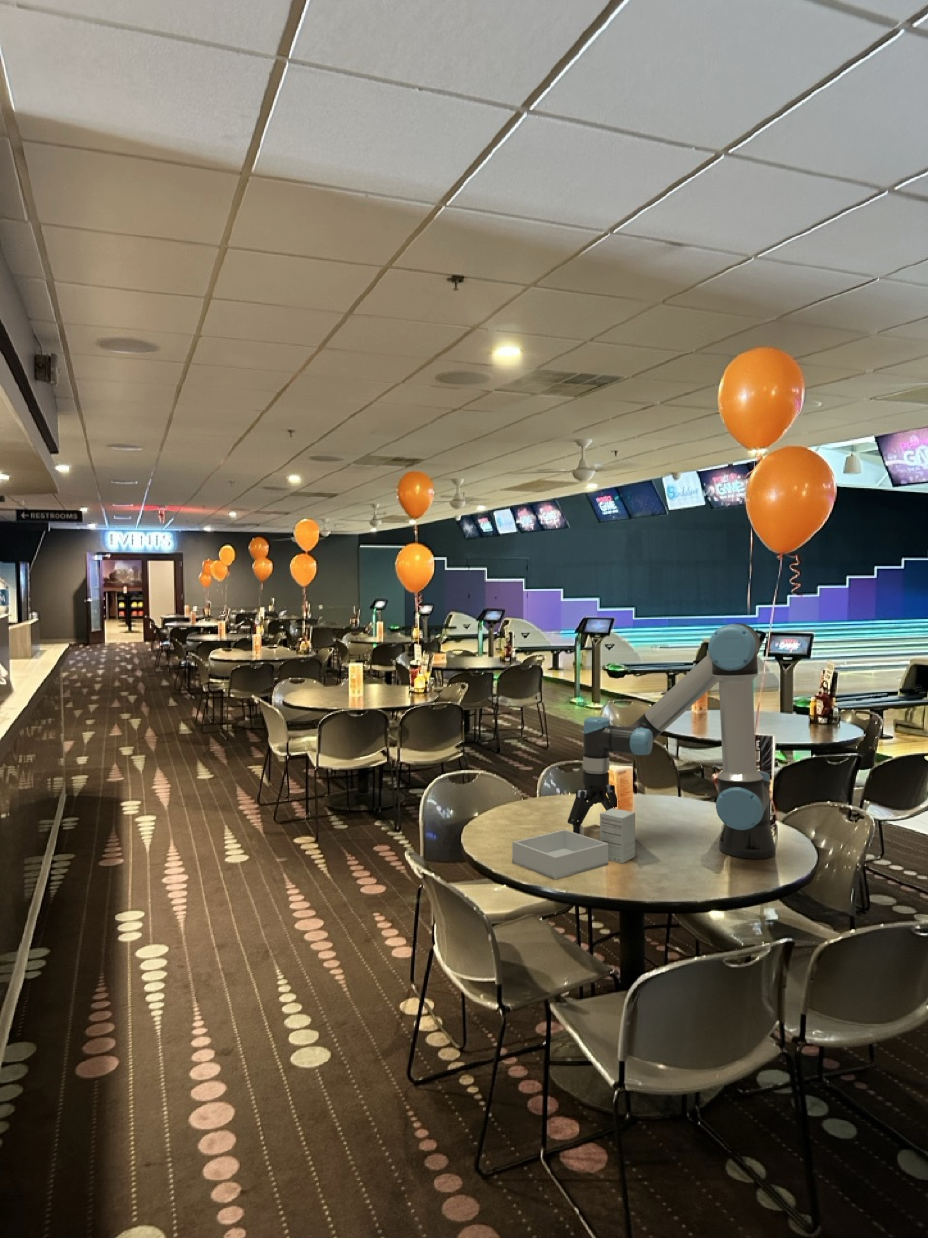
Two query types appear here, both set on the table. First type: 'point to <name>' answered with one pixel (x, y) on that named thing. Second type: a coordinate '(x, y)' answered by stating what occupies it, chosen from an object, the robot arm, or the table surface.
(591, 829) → the maple block
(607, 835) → the supplement box
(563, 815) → the table surface
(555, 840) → the tote
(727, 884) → the table surface
